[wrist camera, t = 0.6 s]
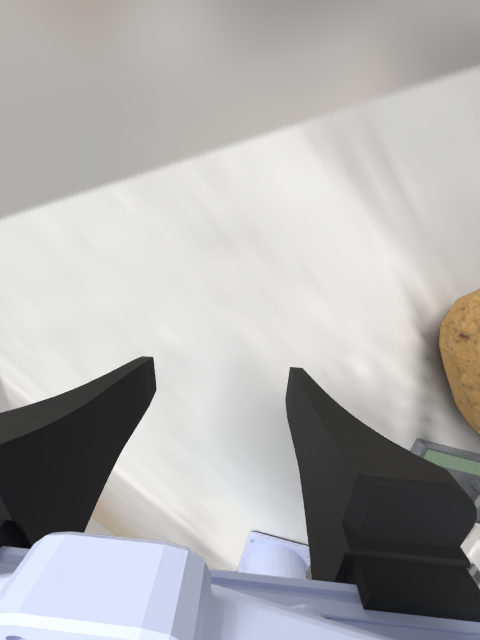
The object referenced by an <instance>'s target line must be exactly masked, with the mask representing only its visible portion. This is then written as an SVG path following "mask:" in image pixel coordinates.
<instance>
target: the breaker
mask: <svg viewBox="0 0 480 640" xmlns="http://www.w3.org/2000/svg"><path fill="white" fill-rule="evenodd" d="M475 525H476V526H477V527H476V528H475V530H474V531H473V533H472V534H471V536H470V537H469V539H465V540H464V542H463V543H462V545H461V546H460V547H461V548H462V550H463V551H464V553H465V554H466V556H467V558H468V559H469V561H470V563H473V564H475V565H476V567H477V568H478V569H479V571H480V524H478V523H475Z"/></svg>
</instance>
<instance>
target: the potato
mask: <svg viewBox="0 0 480 640" xmlns="http://www.w3.org/2000/svg"><path fill="white" fill-rule="evenodd" d="M439 348H440V352H441V356H442V360H443V365H444V368H445V372H446V375H447V378H448V381H449V385H450V388H451V391H452V394H453V397H454V400H455V403H456V406H457V407H458V409H459V410H460V412H461V414H462V415H463V417H464V418H465V420H466V421H467V423H468V424H469V425H470V426H471V427H472V428H473V429H474V430H475V431H476V432H477V433H478V434H479V435H480V289H478V290H476V291H474V292H472V293H470V294H468V295H466V296H464V297H461V298H459V299H457V301H456V302H455V304H454V305H453V306H452V308H451V309H450V311H449V312H448V314H447V315H446V317H445V318H444V319H443V321H442V323H441V326H440V336H439Z"/></svg>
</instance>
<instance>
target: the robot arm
mask: <svg viewBox="0 0 480 640" xmlns="http://www.w3.org/2000/svg"><path fill="white" fill-rule="evenodd" d="M155 392H156V379H155V369H154V360H153V357H143V356H142V357H139V358H137V359H135V360H133V361H131V362H129V363H127V364H125V365H123V366H121V367H119V368H117V369H115V370H113V371H112V372H110V373H108V374H106V375H104V376H101V377H99V378H97V379H95V380H93V381H91V382H89V383H87V384H85V385H82V386H80V387H78V388H75V389H73V390H70V391H68V392H65V393H63V394H60V395H57V396H55V397H52V398H49V399H46V400H43V401H40V402H37V403H34V404H31V405H27V406H24V407H21V408H17V409H14V410H10V411H6V412H3V413H0V640H480V583H479V584H478V585H477V584H476V582H475V581H474V579H473V578H472V576H471V574H470V573H469V571H468V570H467V568H469V567H470V566H471V564H470V561H469V559H468V558H467V556H466V554H465V553H464V551H463V550H462V548H461V547H460V546H461V545H462V543H463V542H464V540H465V539H466V537H467V536H468V534H469V533H470V531H471V530H472V528H473V527H474V524H475V522H476V520H477V508H476V506H475V504H474V502H473V500H472V499H471V498H470V497H469V495H468V494H467V493H466V492H465V491H464V489H463V488H462V487H461V486H460V484H459V483H458V482H457V481H456V480H455V478H454V477H453V476H452V475H451V474H450V472H449V471H448V470H446V469H444V468H442V467H440V466H438V465H436V464H434V463H432V462H430V461H428V460H426V459H424V458H422V457H420V456H418V455H416V454H414V453H412V452H410V451H408V450H406V449H404V448H403V447H401V446H399V445H397V444H395V443H394V442H392V441H390V440H389V439H387V438H385V437H384V436H382V435H380V434H379V433H377V432H376V431H374V430H373V429H371V428H370V427H368V426H367V425H365V424H364V423H362V422H361V421H359V420H358V419H357V418H355V417H354V416H353V415H351V414H350V413H349V412H347V411H346V410H345V409H344V408H343V407H341V406H340V405H339V404H338V403H337V402H336V401H334V400H333V399H332V398H331V397H330V396H329V395H328V394H327V393H326V392H325V391H324V390H323V389H322V388H321V387H320V386H319V385H318V384H317V383H316V382H315V381H314V380H313V379H312V378H311V377H310V376H309V375H308V374H307V373H306V371H305V370H304V369H303V368H295V367H290V372H289V379H288V386H287V392H286V399H285V400H286V410H287V418H288V423H289V427H290V431H291V435H292V440H293V444H294V448H295V452H296V457H297V461H298V466H299V472H300V479H301V486H302V493H303V501H304V509H305V517H306V526H307V535H308V544H309V546H305V545H302V544H298V543H294V542H291V541H287V540H283V539H279V538H276V537H272V536H268V535H265V534H261V533H257V532H251V533H250V535H249V538H248V540H247V543H246V546H245V549H244V552H243V555H242V558H241V561H240V564H239V567H238V570H237V572H235V571H226V570H216V569H208V567H207V565H206V563H205V561H204V559H203V557H202V556H200V555H199V554H197V553H196V552H194V551H193V550H191V549H190V548H188V547H186V546H182V545H178V544H174V543H170V542H166V541H156V540H147V539H137V538H128V537H118V536H108V535H99V534H90V533H84V531H85V529H86V526H87V524H88V522H89V520H90V517H91V515H92V513H93V510H94V508H95V506H96V503H97V501H98V499H99V497H100V495H101V492H102V490H103V488H104V486H105V484H106V482H107V480H108V477H109V475H110V473H111V471H112V469H113V467H114V465H115V463H116V461H117V459H118V457H119V455H120V453H121V451H122V450H123V448H124V446H125V444H126V443H127V441H128V440H129V438H130V436H131V435H132V433H133V432H134V430H135V428H136V427H137V425H138V424H139V422H140V420H141V419H142V417H143V415H144V414H145V412H146V411H147V409H148V407H149V405H150V403H151V401H152V399H153V396H154V394H155ZM310 564H311V574H312V580H308V579H306V573H307V571H308V569H309V567H310Z"/></svg>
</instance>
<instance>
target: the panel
mask: <svg viewBox="0 0 480 640" xmlns="http://www.w3.org/2000/svg"><path fill="white" fill-rule="evenodd" d="M410 452H412V453H414V454H416V455H418V456H420V457H422V458H424V459H426V460H428V461H430V462H432V463H434V464H436V465H438V466H440V467H442V468H444V469H446V470H448V471H449V472H450V474H451V475H452V476H453V477H454V478H455V480H456V481H457V482H458V483H459V484H460V486H461V487H462V488H463V489H464V491H465V492H466V493H467V494H468V495H469V497H470V498H471V499H472V500H473V502H474V504H475V506H476V508H477V520H476V522H475V523H478V524H480V455H479V454H476V453H472V452H468V451H464V450H460V449H456V448H452V447H448V446H445V445H441V444H437V443H433V442H429V441H425V440H421V439H417V440H416V442H415V444H414V446H413V448H412V449H411V451H410ZM476 527H477V526H476V525H475V524H474V527H473V528H472V530H471V531H470V533H469V534H468V536H467V537H466V539H469V537H470V536H471V534H472V533H473V531H474V530H475V528H476ZM470 564H471V566H470V567H469V568H467V570H468V571H469V573H470V574H471V576H472V578H473V579H474V581H475V582H476V584H477V585H478V584H479V583H480V571H479V569H478V568H477V567H476V565H475V564H473V563H470Z"/></svg>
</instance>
